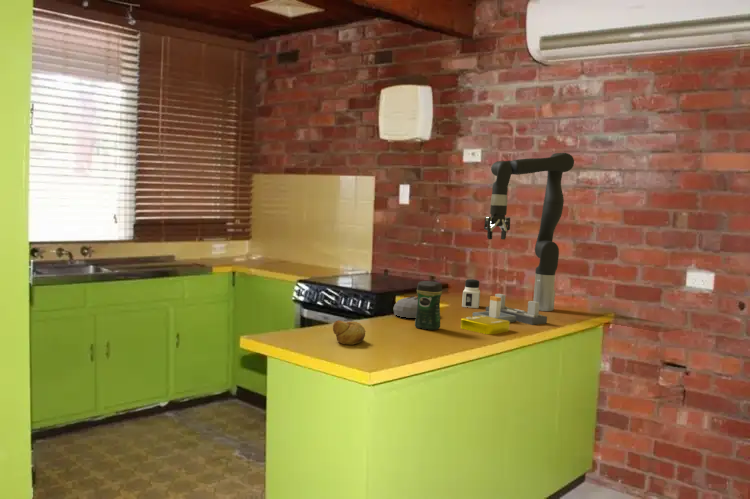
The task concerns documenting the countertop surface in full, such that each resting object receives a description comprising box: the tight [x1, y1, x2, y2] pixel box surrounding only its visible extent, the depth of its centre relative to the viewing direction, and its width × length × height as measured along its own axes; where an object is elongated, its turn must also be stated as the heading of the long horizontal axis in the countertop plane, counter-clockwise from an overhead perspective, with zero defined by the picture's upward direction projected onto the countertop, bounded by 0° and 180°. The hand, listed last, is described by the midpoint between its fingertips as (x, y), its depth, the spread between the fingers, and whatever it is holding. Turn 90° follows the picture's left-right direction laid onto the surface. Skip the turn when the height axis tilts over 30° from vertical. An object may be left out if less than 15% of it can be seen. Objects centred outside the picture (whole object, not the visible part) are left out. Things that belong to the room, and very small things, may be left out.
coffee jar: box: [414, 280, 443, 331], centre depth 271 cm, size 10×8×19 cm
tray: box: [471, 310, 517, 323], centre depth 297 cm, size 13×13×2 cm
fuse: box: [526, 300, 540, 317], centre depth 296 cm, size 2×4×9 cm, turn 35°
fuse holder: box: [485, 305, 548, 326], centre depth 305 cm, size 9×28×4 cm, turn 35°
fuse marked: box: [489, 295, 501, 317], centre depth 297 cm, size 2×4×9 cm, turn 36°
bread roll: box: [332, 320, 367, 346], centre depth 239 cm, size 13×10×8 cm
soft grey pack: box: [392, 295, 418, 319], centre depth 296 cm, size 15×8×20 cm
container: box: [461, 278, 481, 309], centre depth 329 cm, size 8×8×13 cm
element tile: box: [459, 315, 511, 335], centre depth 275 cm, size 15×15×5 cm
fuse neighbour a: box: [494, 293, 507, 309], centre depth 313 cm, size 2×4×9 cm, turn 35°
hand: (496, 239), depth 321 cm, fingers open, 8 cm apart
